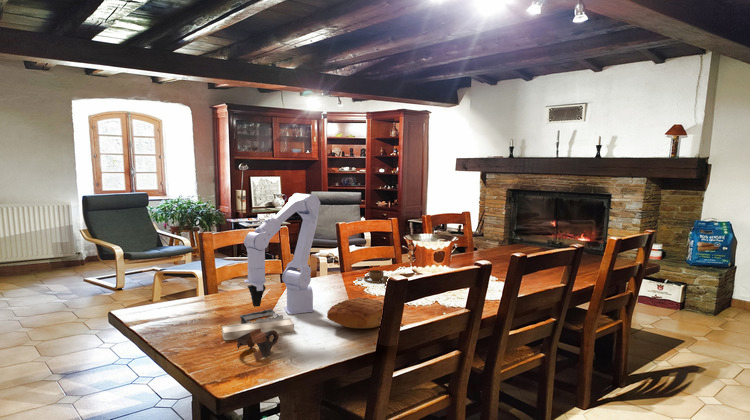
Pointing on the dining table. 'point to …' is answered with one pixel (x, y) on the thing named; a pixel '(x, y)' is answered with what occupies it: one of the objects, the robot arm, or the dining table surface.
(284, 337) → the dining table surface
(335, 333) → the dining table surface
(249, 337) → the brown looped piece
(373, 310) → the bread loaf
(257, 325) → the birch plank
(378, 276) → the place setting
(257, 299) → the robot arm
